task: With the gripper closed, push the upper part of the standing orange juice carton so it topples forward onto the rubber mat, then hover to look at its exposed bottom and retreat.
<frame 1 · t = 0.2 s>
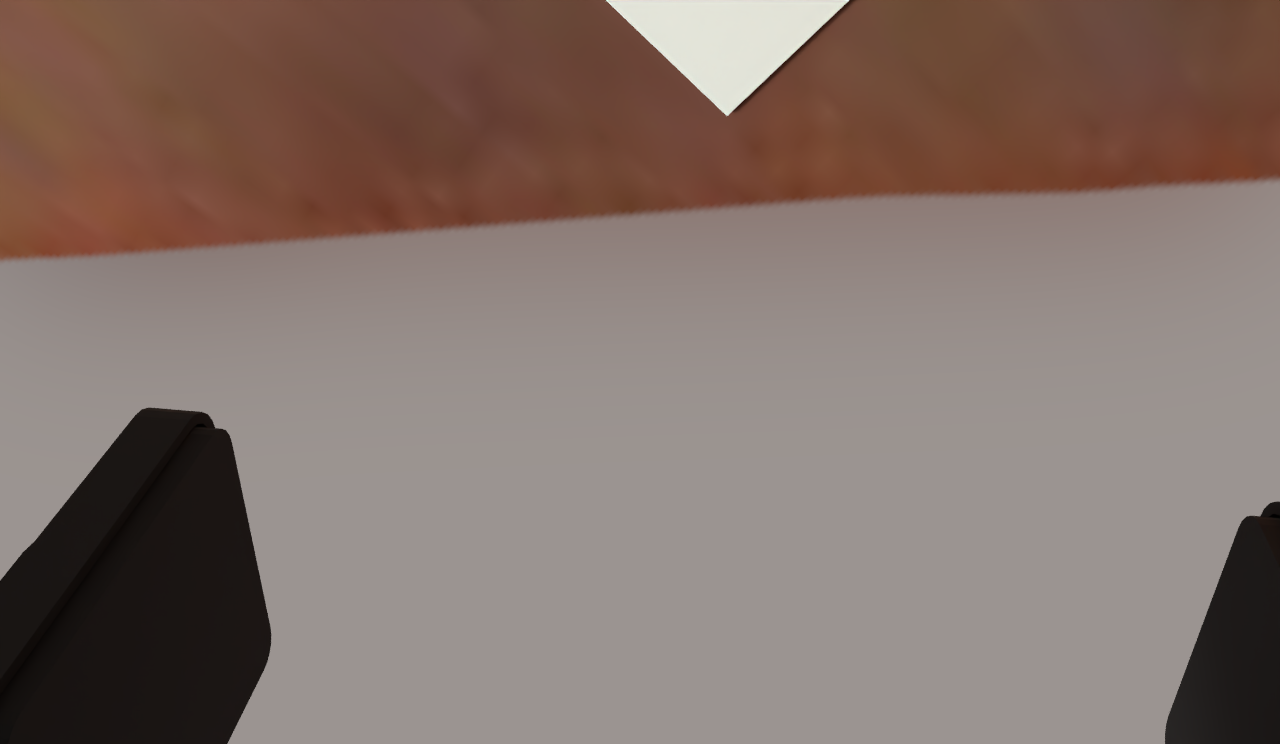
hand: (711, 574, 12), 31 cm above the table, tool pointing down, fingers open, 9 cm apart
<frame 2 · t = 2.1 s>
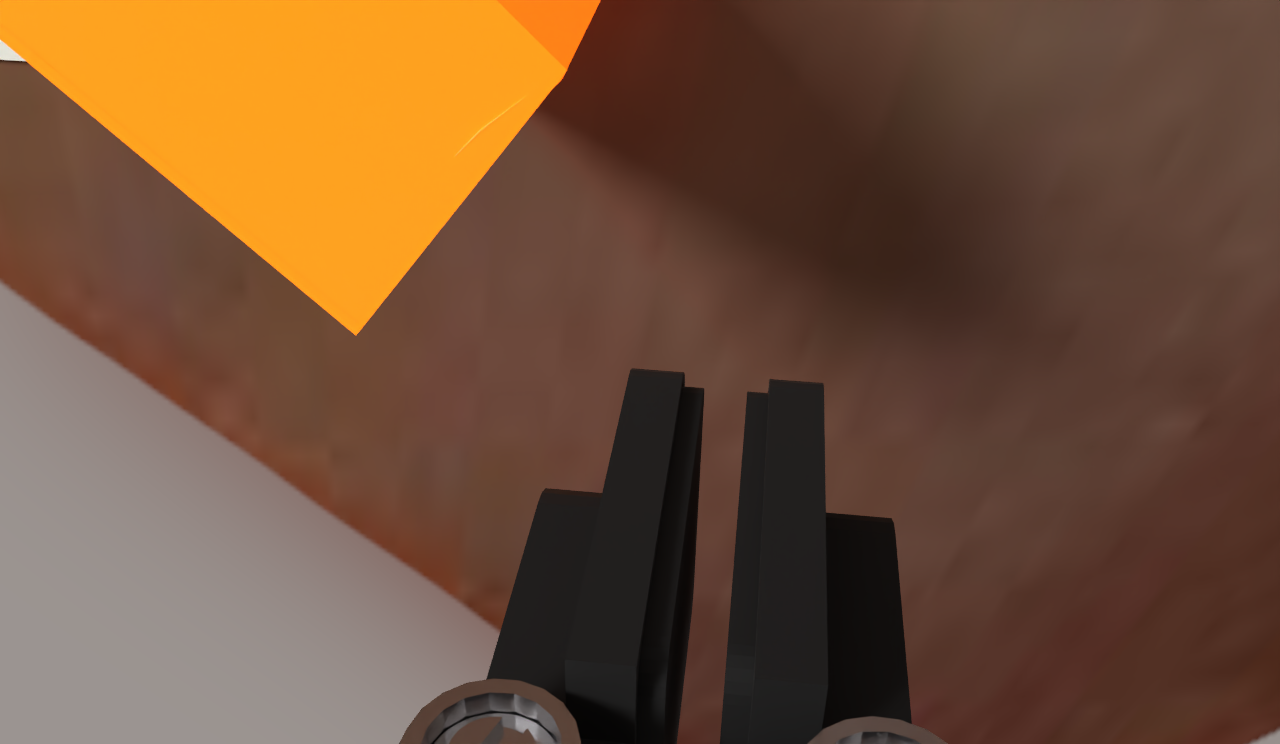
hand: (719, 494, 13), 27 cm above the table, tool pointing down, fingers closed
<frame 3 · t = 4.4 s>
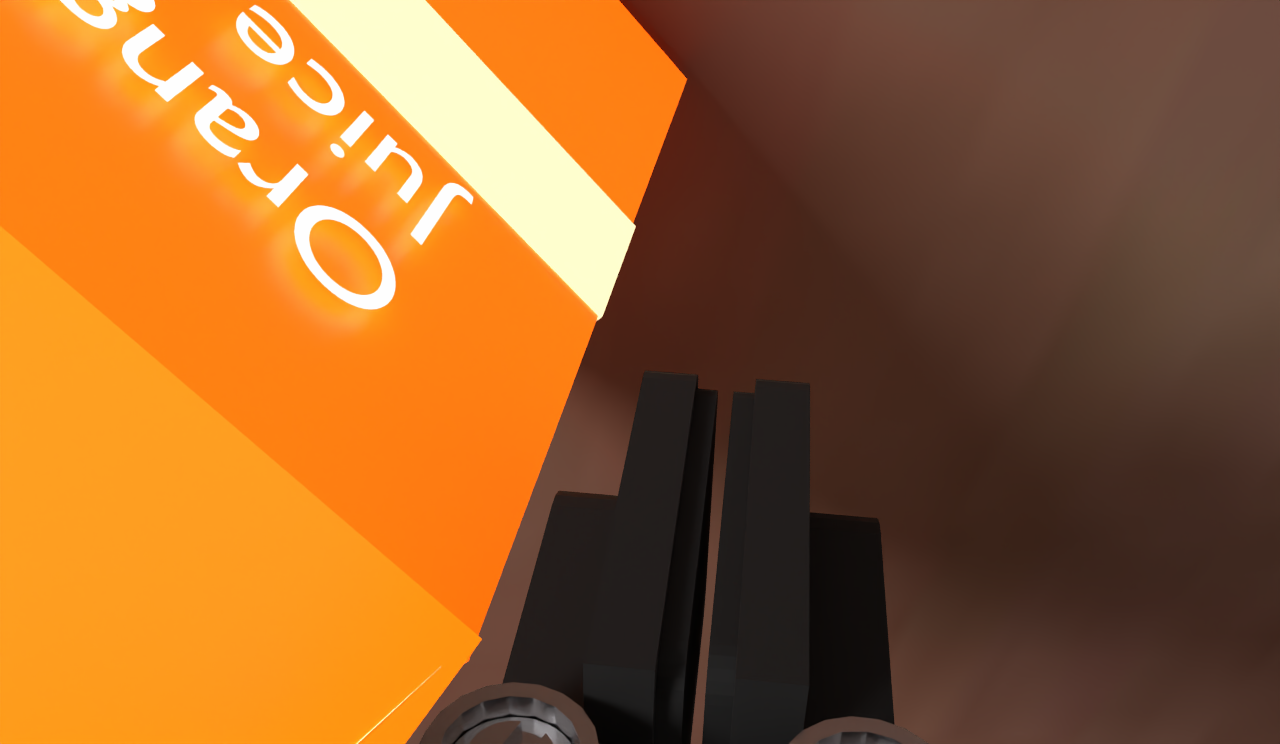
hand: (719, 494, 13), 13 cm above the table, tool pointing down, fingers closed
orange juice: (395, 20, 23), on the table, touching gripper
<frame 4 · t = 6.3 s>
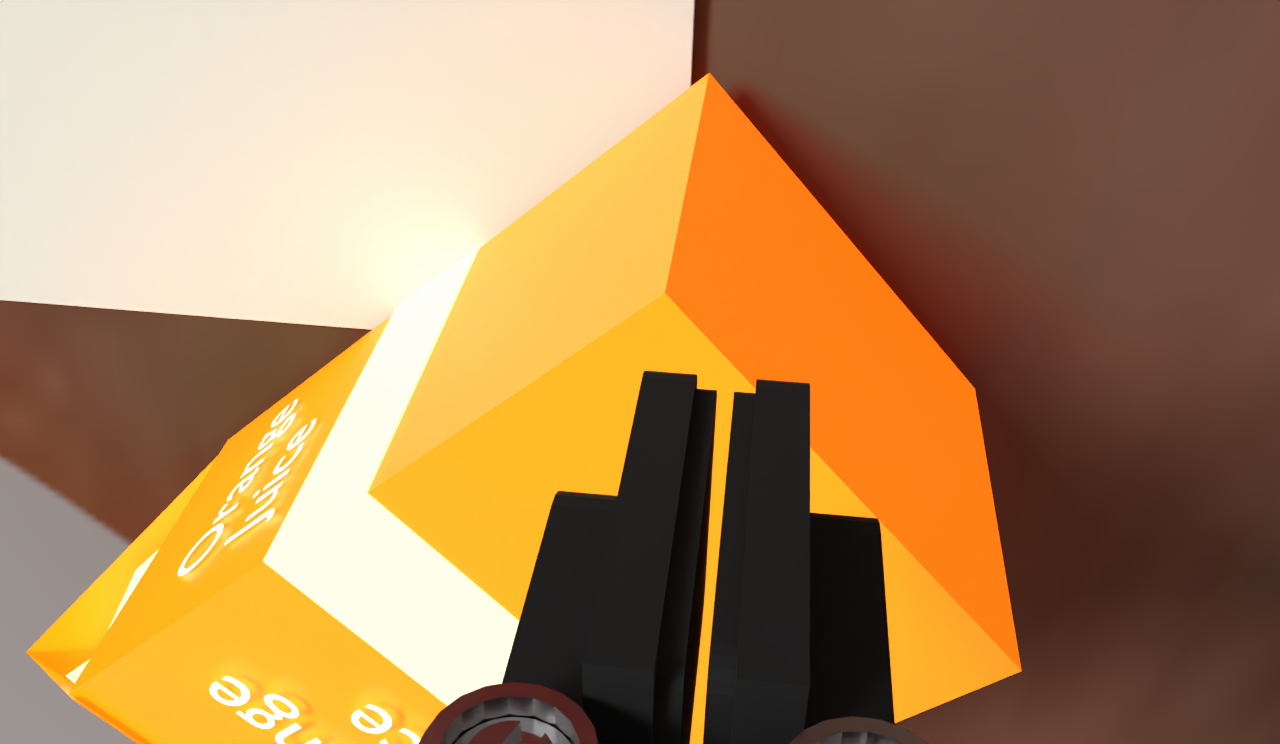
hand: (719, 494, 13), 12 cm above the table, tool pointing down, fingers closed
orange juice: (864, 346, 20), point 4 cm above the table, touching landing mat
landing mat: (246, 21, 23), on the table
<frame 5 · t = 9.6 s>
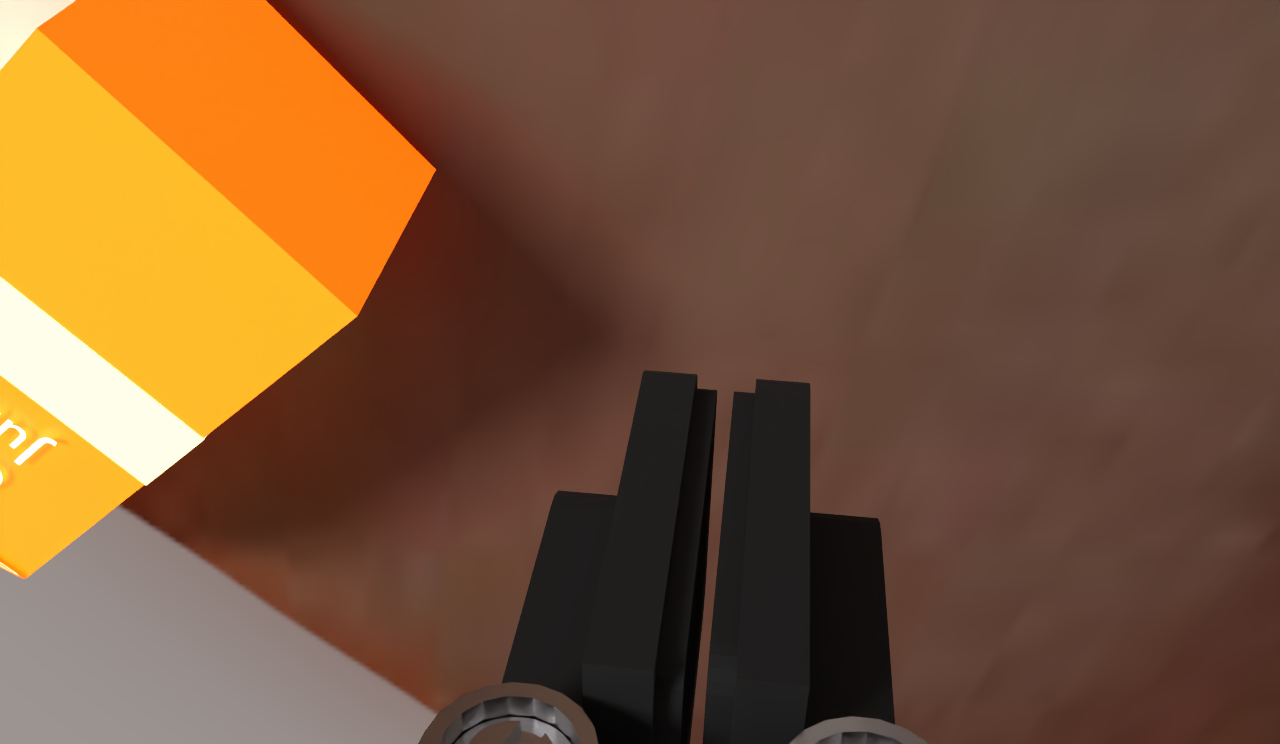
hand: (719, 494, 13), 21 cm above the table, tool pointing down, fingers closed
orange juice: (272, 105, 29), point 4 cm above the table, touching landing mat
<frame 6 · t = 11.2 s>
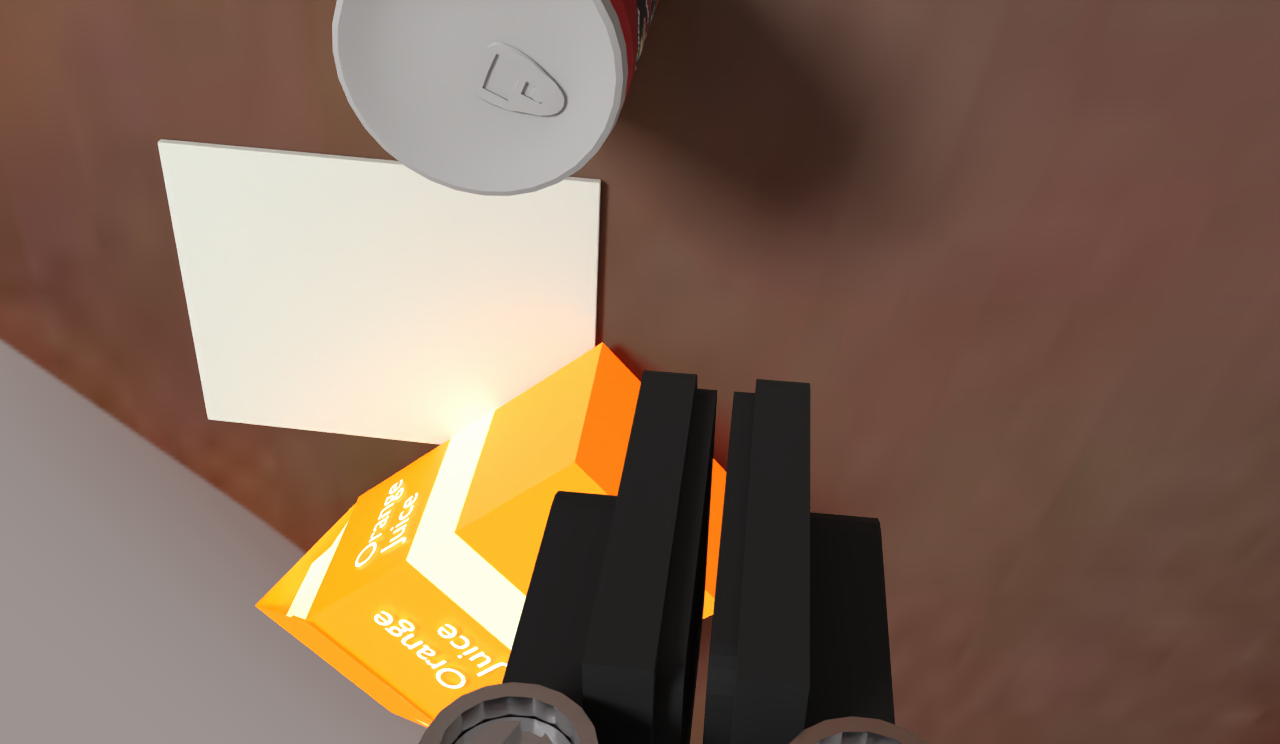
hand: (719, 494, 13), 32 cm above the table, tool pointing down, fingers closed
orange juice: (665, 469, 47), point 4 cm above the table, touching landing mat
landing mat: (389, 307, 50), on the table
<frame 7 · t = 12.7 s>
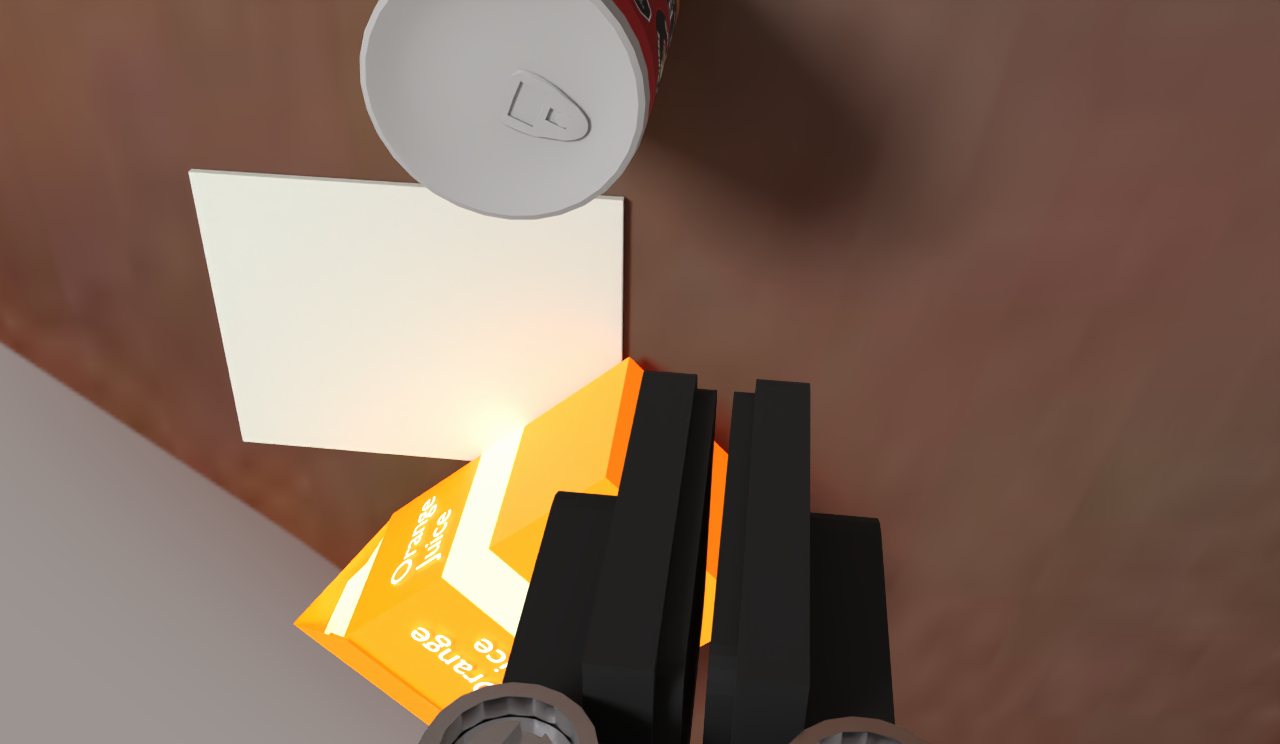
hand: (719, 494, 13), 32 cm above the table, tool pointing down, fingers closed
orange juice: (695, 481, 48), point 4 cm above the table, touching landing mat
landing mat: (418, 327, 51), on the table
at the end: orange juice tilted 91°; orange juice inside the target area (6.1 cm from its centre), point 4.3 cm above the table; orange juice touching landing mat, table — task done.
